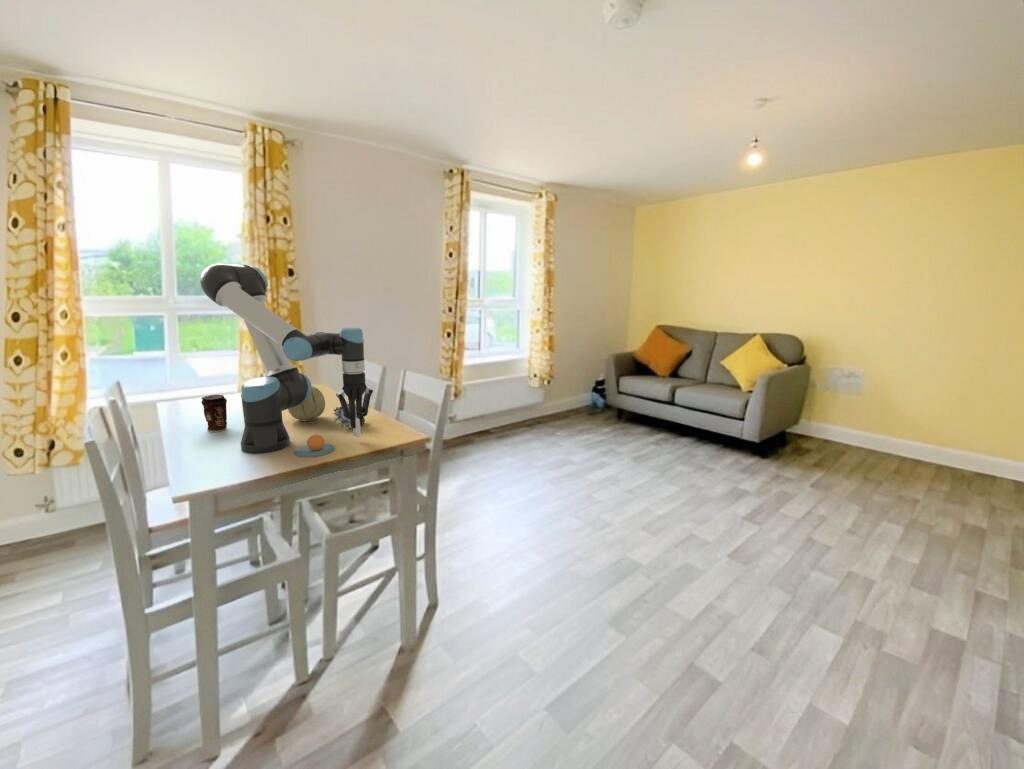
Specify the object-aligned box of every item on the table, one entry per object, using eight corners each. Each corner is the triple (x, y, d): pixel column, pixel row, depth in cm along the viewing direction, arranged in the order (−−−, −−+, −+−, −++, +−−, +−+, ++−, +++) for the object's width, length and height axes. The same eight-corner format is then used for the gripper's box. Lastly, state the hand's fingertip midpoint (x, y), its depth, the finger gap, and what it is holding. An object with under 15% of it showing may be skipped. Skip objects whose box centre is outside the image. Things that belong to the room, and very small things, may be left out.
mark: (295, 459, 152) (295, 458, 152) (292, 447, 163) (292, 446, 163) (337, 453, 158) (337, 452, 158) (332, 441, 169) (332, 441, 169)
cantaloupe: (317, 425, 187) (314, 389, 184) (281, 425, 188) (277, 388, 184) (332, 415, 202) (330, 381, 199) (298, 414, 202) (295, 380, 199)
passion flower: (351, 441, 186) (334, 422, 178) (340, 430, 194) (323, 411, 186) (374, 423, 190) (358, 403, 182) (363, 412, 197) (347, 392, 189)
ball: (326, 452, 161) (309, 454, 158) (320, 444, 165) (304, 446, 161) (327, 438, 159) (311, 440, 156) (321, 430, 163) (305, 432, 159)
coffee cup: (199, 430, 179) (195, 397, 176) (221, 424, 186) (217, 393, 183) (212, 434, 175) (208, 400, 172) (234, 428, 182) (231, 395, 179)
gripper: (339, 375, 158) (343, 442, 163) (375, 371, 167) (378, 435, 172) (331, 372, 164) (335, 437, 169) (366, 368, 172) (369, 430, 177)
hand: (357, 435), depth 170 cm, fingers closed
